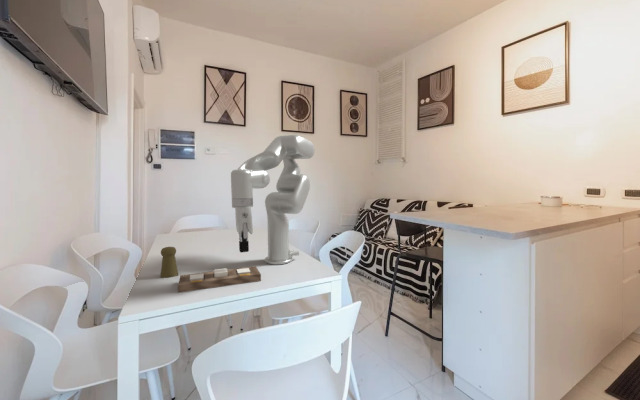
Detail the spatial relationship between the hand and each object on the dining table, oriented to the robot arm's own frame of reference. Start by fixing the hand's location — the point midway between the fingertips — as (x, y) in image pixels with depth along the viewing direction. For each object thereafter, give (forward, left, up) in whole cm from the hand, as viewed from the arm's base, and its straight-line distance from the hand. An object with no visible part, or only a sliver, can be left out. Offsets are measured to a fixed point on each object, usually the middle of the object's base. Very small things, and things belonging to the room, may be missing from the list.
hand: (244, 251), depth 102 cm
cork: (+26, -15, -10) cm, 32 cm away
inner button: (0, 0, -10) cm, 10 cm away
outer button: (+16, 0, -10) cm, 19 cm away
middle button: (+8, 0, -9) cm, 12 cm away
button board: (+8, 0, -10) cm, 13 cm away
